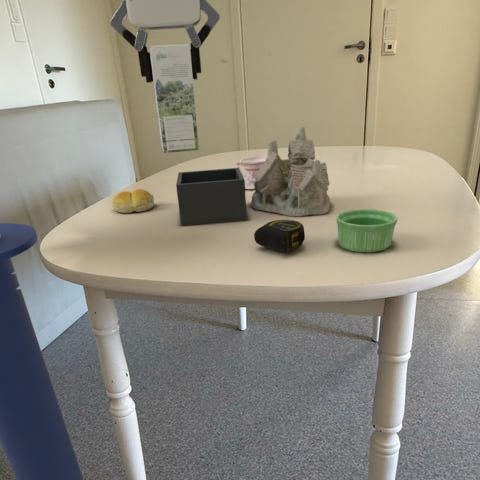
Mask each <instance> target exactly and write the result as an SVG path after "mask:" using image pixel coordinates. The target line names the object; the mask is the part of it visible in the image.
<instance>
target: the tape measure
mask: <svg viewBox="0 0 480 480" xmlns="http://www.w3.org/2000/svg"><path fill="white" fill-rule="evenodd" d="M253 237H254V242H255V243H256V244H257V245H258V246H262V247H264V248H268V249H272V250H273V251H275V252H276V251H278V252H282V253H288V252H290V251H291V250H294V249H298V248H300V247H301V246H302V245H303V243H304V242H305V239H306V234H305V227H304V224H303V223H302V222H300V221H297V220H293V219H276V220H271V221H268V222H266V223H265V224H264V225H262V226H260V227H259V228H257V229H256V230H255V231H254V233H253Z"/></svg>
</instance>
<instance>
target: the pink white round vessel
mask: <svg viewBox="0 0 480 480" xmlns="http://www.w3.org/2000/svg"><path fill="white" fill-rule="evenodd" d="M267 157H268V155H267V156H266V155H261V156H260V155H259V156H247V157H243V158H240V159H239V161H238V162H236V165H237V167H236V168H239V169H240V170H241V168H240V166H241V167H244V170H245V172H246V173H245V174H244V173H243V172H242V171H241V174H242V176H243V178H244V180H245V190H255V189H254V188H255V186H254V183H255V182H256V180H255V178H254V177H253V176H254V175H256V173H257V172H258V171H259V170H260V167H261V166H262V165H263V164H264V162H265V161H266V160H265V159H266V158H267Z"/></svg>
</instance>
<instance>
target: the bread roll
mask: <svg viewBox="0 0 480 480" xmlns="http://www.w3.org/2000/svg"><path fill="white" fill-rule="evenodd" d="M111 205H112V209H113V210H114V211H116V212H118V213H122V214H130V213H134V212H136V213H141V212H146V211H148V210H150V209H152V208H153V207H154V205H155V197H154V195H153V194H152V193H150V192H149V191H147V190H146V189H143V188H136V189H135V190H133V191H132V192H130V191H121V192H118V193H117V194H116V195H114V196H113V198H112V201H111Z"/></svg>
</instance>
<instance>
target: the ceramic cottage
mask: <svg viewBox="0 0 480 480" xmlns="http://www.w3.org/2000/svg"><path fill="white" fill-rule="evenodd" d="M305 128H306V127H304V126H300V127H299V128H298V132H296V133H295V136H294V139H290V140H289V142H288V148H287V158H286V159H282V158H281V157H280V155H279V149H278V141H277V140H276V139H269V141H268V145H267V156H268V157H267V158H266V159H265V160H266V161H265V162H264V164H263V165H262V166H261V167H260V170H259V171H258V172H257V173H256V175H254V176H253V177H254V178H255V180H256V182H255V183H254V186H255V188H254V189H253V190H254V192H253V193H252V196H251V202H250V206H251V208H254V209H255V210H258V211H259V210H260V211H264V212H267V213H268V212H269V213H276V214H279V215H280V214H281V215H284V216H289V217H305V216H310V215H315V216H316V215H324V214H328V212H329V211H330V207H331V204H330V200H331V199H330V196H329V194H328V190H329V186H330V179H329V174H328V168H327V163H326V161H325V162H321V160H320V159H316V155H315V154H316V149H315V145H314V140H313V138H312V139H307V134H306V129H305Z"/></svg>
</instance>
